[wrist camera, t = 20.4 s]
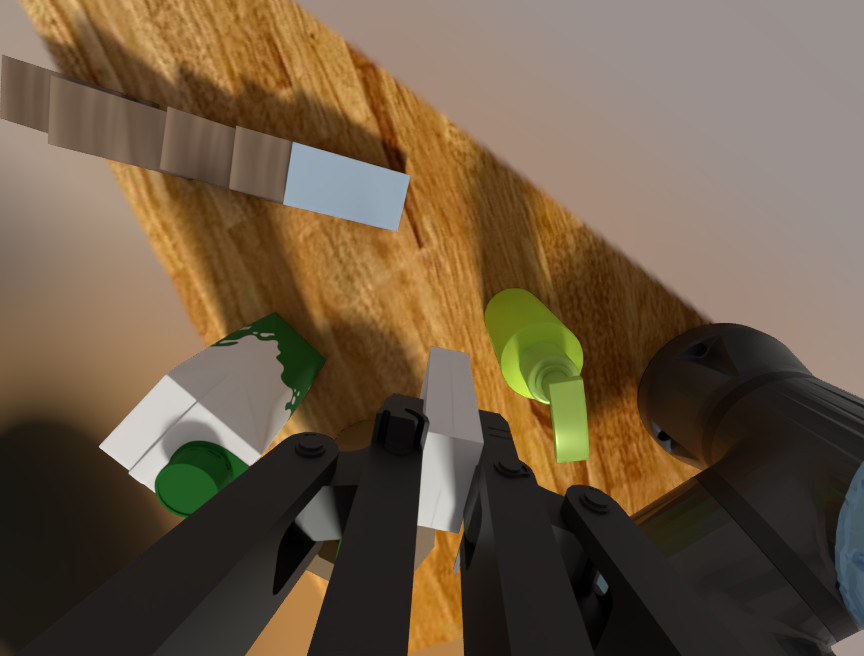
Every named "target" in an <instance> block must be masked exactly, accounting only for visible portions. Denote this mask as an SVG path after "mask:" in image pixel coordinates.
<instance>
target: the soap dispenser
mask: <svg viewBox="0 0 864 656" xmlns="http://www.w3.org/2000/svg"><path fill="white" fill-rule="evenodd" d="M484 321H485V326H486V328H487V331H488V334H489V337H490V340H491V343H492V346H493V349H494V351H495V354H496V357H497V360H498V363H499V366H500V369H501V371H502V374H503V377H504V379H505V381H506V382H507V384H508V385H509V386H510V387H511V388H512V389H513V390H514V391H515V392H517V393H518V394H520V395H522V396H524V397H527V398H531V399H536V400H538V401H539V402H541V403H544V404H548V405H550V410H551V419H552V427H553V437H554V451H555V457H556V461H557V463H564V462H572V461H579V460H586V459H588V451H589V441H588V422H587V411H586V402H585V393H584V384H583V379H582V378H581V376H580V373H581V370H582V366H583V351H582V348H581V345H580V343H579V341H578V339H577V338H576V337H575V335H574V334H573V333H572V332H571V331H570V330H569V329H568V328H567V327H566V326H565V325H564V324H563V323H562V322H561V321H560V320H559V319H558V318H557V317H556V316H555V315H554V314H553V313H552V312H551V311H550V310H549V309H548V308H547V307H546V306H545V305H544V304H543V303H542V302H541V301H539V300H538V299H537V298H536V297H535V296H534V295H533V294H532V293H530V292H529V291H527V290H524V289H520V288H510V289H506V290H503V291H501V292H499V293H497V294H496V295H495V296H494V297H493V298H492V299H491V300H490V301H489V303H488V305H487V307H486V310H485V314H484Z"/></svg>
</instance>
